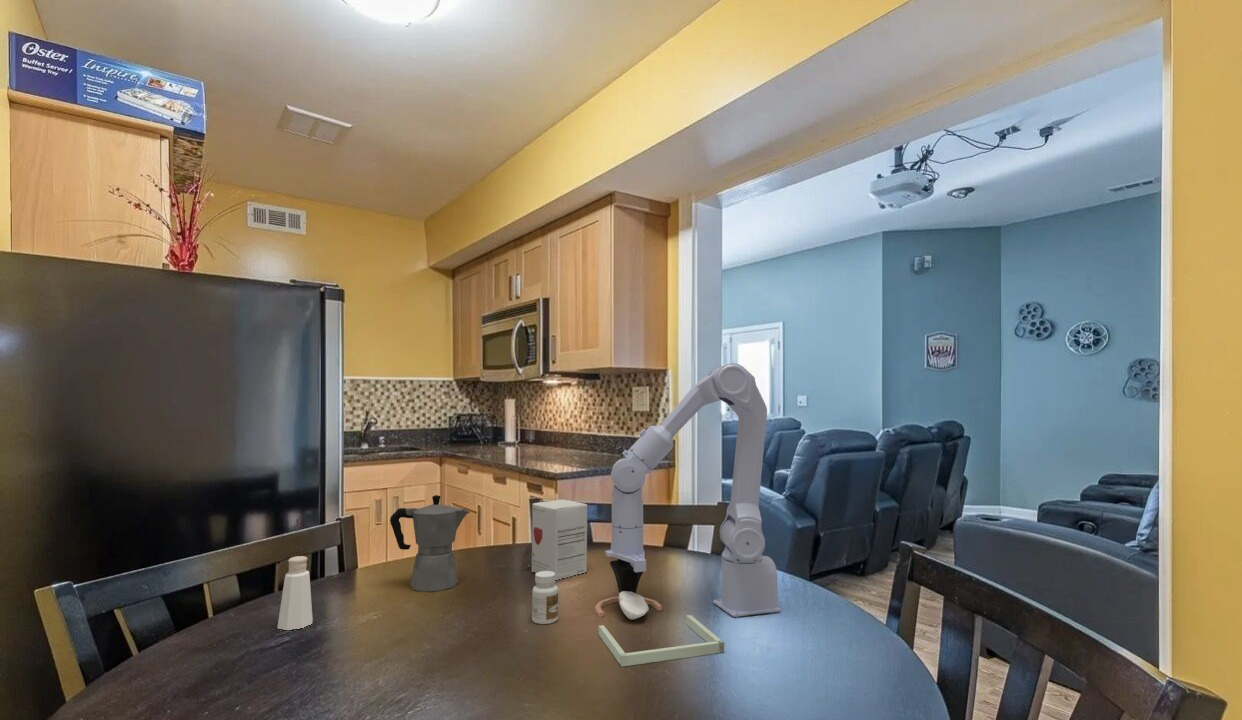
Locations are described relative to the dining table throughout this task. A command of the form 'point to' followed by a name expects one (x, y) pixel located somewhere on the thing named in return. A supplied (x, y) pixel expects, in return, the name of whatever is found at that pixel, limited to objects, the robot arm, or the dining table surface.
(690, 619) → the pale green u-frame
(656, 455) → the robot arm
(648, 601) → the segmented c-shaped arc
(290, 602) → the pepper shaker
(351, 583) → the dining table surface
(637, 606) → the dumpling
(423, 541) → the coffeepot
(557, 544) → the supplement box
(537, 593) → the pill bottle
